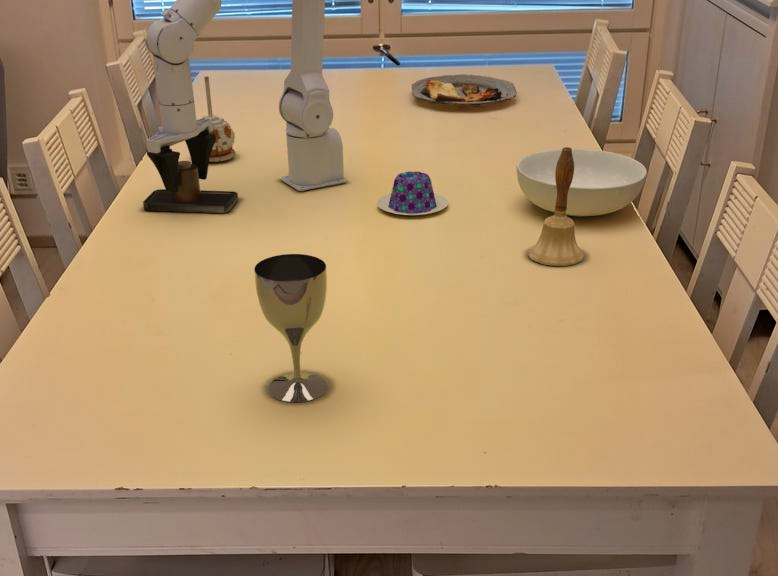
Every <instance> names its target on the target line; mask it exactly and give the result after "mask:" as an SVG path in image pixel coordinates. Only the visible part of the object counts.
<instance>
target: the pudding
mask: <svg viewBox="0 0 778 576" xmlns="http://www.w3.org/2000/svg"><path fill="white" fill-rule="evenodd" d="M376 205H377V207H378V208H379V209H380V210H383V211H384V212H387V213H391V214H396V215H402V216H403V215H404V216H422V215H428V214H429V215H430V214H432V213H437V212H441V211H442V210H444V209H445V208H447V207H448V205H449V200H448V199H447V198H446V196H443V195H441V194H438V193H435V192H434V188H433V183H432V179H431V177H430V175H429V174H428V173H426V172H421V171H404V172H400V173H398V174H397V175H396V176H395V178H394V180H393V185H392V190H391V192H390V193H388V194H385V195H383V196H381V197H380V198H378V199H377V201H376Z"/></svg>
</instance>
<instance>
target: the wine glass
mask: <svg viewBox="0 0 778 576" xmlns="http://www.w3.org/2000/svg"><path fill="white" fill-rule="evenodd" d="M253 269H254V270H253V273H254V282H255V290H256V291H255V292H256V295H257V300H258V304H259V306H260V309H261V313H262V315H263V317H264V318H265V320H266V321H267V322H268V323H269V325H271V326H272V327H273V328H274V329H275V330H276V331H277V332H279V333H280V334H281V335H282V336H283V337H284V339H285V340H286V342H287V344H288V346H289V348H290V354H291V359H292V366H293V372H292V373H287V374H284V375H281V376H279V377H276V378H274V379H273V380H272V381H270V383H269V385H268V387H267V392H268V394H269V395H270V396H271V397H272V398H274V399H276V400H278V401H281V402H286V403H305V402H310V401H314V400H316V399H319V398H321V397H322V396H323V395H325V394H326V393H327V391H328V389H329V384H328V382H327V380H326V379H324V377H321V376H320V375H317V374H313V373H307V372H301V349H302V343H303V341H304V339H305V337H306V336H307V334H308V333H309V332H310V331H311V329H312V328H314V326H315V325H316V324H317V323H318V321H319V320H320V318H321V317H322V315H323V312H324V310H325V305H326V300H327V299H326V297H327V290H328V275H327V274H328V273H327V271H328V270H327V263H326V262H325V261H324V260H323V259H321V258H319V257H317V256H314V255H309V254H302V253H285V254H278V255H272V256H271V257H267V258H264V259H262V260H260V261H258V263H256V265H255V266H254V268H253Z"/></svg>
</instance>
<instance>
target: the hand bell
mask: <svg viewBox="0 0 778 576" xmlns="http://www.w3.org/2000/svg"><path fill="white" fill-rule="evenodd" d="M561 149H562V152H561V155H560V157H559V159H558V162H557V165H556V172H555V180H556V186H557V198H556V206H555V211H554V212H553V215H551V216H548V217H547V218H545V219H544V221H543V226H542V228H541V232H540V235H539V237H538V240H537V241H536V243H534V244H533V245H532V246H531V247H530V248H529V250H528V251H527V256H528V258H529V259H530V260H531V261H533V262H536V263H538V264H541V265H546V266H552V267H565V266H567V267H568V266H573V265H577V264H579V263H580V262H582V261H583V260H584V258H585V254H584V252H583V250H582V249H581V248H580V247H579V245H578V243H577V240H576V233H575V231H576V230H575V221H574V220H573V219H572V218H570V217H569V216H568V215H566V210H567V196H568V191H569V188H570V185H571V183H572V179H573V174H574V160H573V156H572V149H573V148H572V147H568V146H565V147H562V148H561Z"/></svg>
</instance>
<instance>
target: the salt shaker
mask: <svg viewBox="0 0 778 576" xmlns="http://www.w3.org/2000/svg"><path fill="white" fill-rule="evenodd" d="M200 184H201V183H200V179H199V175H198V167H197V165H194V164H192V162H191V160H179V161H178V192H176V193H174V195H175V201H176V202H178V203H184V204H187V203H194V202H198V201H200V200H201V193H200V191H201V186H200Z"/></svg>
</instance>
